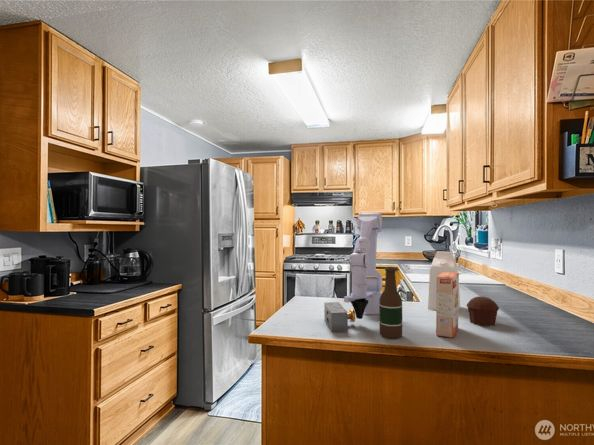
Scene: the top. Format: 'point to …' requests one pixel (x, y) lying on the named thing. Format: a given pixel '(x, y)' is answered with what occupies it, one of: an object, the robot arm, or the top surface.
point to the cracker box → (447, 304)
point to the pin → (349, 315)
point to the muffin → (482, 311)
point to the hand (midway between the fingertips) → (359, 318)
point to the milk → (438, 266)
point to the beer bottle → (390, 308)
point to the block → (336, 317)
